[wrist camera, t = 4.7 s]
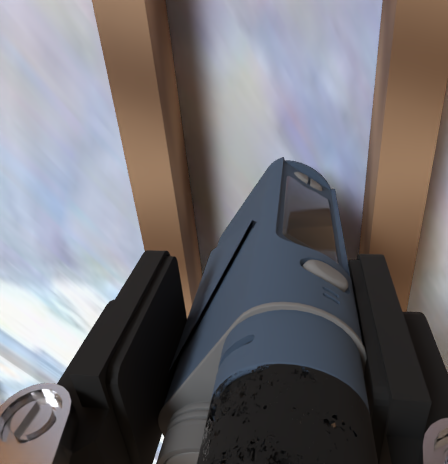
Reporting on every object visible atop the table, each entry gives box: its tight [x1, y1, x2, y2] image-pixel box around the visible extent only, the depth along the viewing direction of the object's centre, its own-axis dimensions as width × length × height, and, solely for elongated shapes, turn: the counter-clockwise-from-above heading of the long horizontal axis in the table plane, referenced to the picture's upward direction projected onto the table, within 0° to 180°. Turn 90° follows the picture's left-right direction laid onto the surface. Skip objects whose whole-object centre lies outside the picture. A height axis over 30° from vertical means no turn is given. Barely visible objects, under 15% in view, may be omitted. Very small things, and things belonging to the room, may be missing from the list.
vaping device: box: [156, 157, 378, 464], centre depth 9 cm, size 3×5×12 cm, turn 150°
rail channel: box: [92, 0, 448, 427], centre depth 15 cm, size 24×10×3 cm, turn 5°
